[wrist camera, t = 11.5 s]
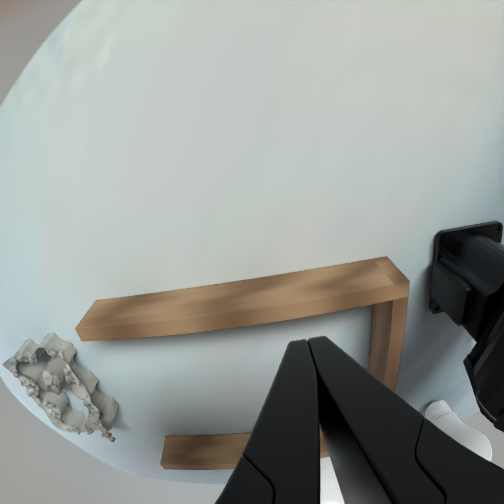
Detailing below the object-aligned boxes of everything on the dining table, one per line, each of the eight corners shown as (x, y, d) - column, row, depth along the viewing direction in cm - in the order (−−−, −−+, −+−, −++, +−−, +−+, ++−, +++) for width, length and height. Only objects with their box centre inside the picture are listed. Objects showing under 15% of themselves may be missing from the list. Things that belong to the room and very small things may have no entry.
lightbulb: (426, 425, 27) (459, 500, 17) (395, 417, 26) (429, 505, 16) (465, 389, 25) (509, 463, 15) (438, 376, 24) (488, 464, 14)
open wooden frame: (386, 256, 19) (409, 281, 16) (372, 416, 26) (381, 444, 23) (95, 300, 20) (75, 328, 17) (169, 441, 27) (164, 469, 24)
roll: (368, 539, 16) (355, 551, 18) (344, 440, 27) (337, 464, 29) (297, 552, 16) (294, 561, 18) (286, 448, 27) (285, 471, 30)
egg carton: (130, 412, 26) (120, 446, 22) (75, 414, 26) (62, 442, 23) (68, 325, 22) (46, 357, 18) (16, 336, 22) (-5, 363, 19)
